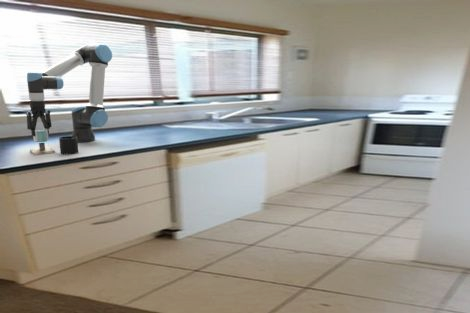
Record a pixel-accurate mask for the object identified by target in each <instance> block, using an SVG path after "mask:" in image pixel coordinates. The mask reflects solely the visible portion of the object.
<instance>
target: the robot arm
mask: <svg viewBox="0 0 470 313" xmlns="http://www.w3.org/2000/svg"><path fill="white" fill-rule="evenodd" d="M112 59H113V51H112V49H111V47H110V46H109V45H107V44H106V43H99V42H98V43H87V44H84V45H82V46H80V47H79V48H77V49H75V50H73V51H72V52H71V54H70V55H69V56H67V57H66V58H64V59H62V60H61V61H59V62H57V63H56V64H54V65H52V66H51V67H49V68H48V69H46V70H44V71H43V72H27V75H26V81H27V89H28V97H29V98H28V99H29V100H30V101H29V107H30V111H25V115H26V126H27V130H28V131H29V130H30V132H31V137H32V138H33V142H35V143H39V142H38V137H37V129H36V128H37V123H38V122H37V121H38V119H39V118H40V120H41V123H42V124H43V125H42V126H43V127H44V128H42V130H46V132H47V141H49V134H50V131H49V130H50V128H52V127H53V126H52V119H51V110H47V109H46V101H45V92H44V91H45V90H62V89H63V87H64V86H65V85H64V80H63V78H62V77H63V76H64V75H66V74H67V73H69V72H71V71H72V70H74V69H75V68H77V67H78V66H83V65H84V64H89V66H90V67H91V68H90V81H89V82H90V83H89V95H88V103H87V104H86V105H85V106H77V107H72V109H71V118H72V119H71V120H72V128H73V129H72V134H71V136H76V137H77V142H78V143H86V142H88V143H89V142H93V141H95V140H96V136H95V133H94V131H93V129H92V128H102V127H104V126H105V125H106V124H107V123H108V120H109V115H108V113H107V111H106V107H105V105H104V90H105V76H106V68H107V67H108V66H109V63H110V62H111V60H112Z"/></svg>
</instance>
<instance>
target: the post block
mask: <svg viewBox="0 0 470 313" xmlns="http://www.w3.org/2000/svg"><path fill="white" fill-rule="evenodd" d="M45 144H46V143H45V142H38V146H39V148H35V149H34V148H33V149H30V153H31V154H32V155H34V156H37V155H44V154H45V155H46V154H55V153H56V150H55V149H53V148H52V147H46V145H45Z"/></svg>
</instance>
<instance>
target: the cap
mask: <svg viewBox="0 0 470 313" xmlns="http://www.w3.org/2000/svg"><path fill="white" fill-rule="evenodd" d="M36 130H37V129H36ZM37 137H38V142H37V143H45V142H48V140H47V132H46V130H43V129H38V130H37Z"/></svg>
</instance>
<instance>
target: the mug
mask: <svg viewBox="0 0 470 313" xmlns="http://www.w3.org/2000/svg"><path fill="white" fill-rule="evenodd" d="M58 140H59V148H60V149H59V151H60V154H61V155H74V154H77V153H79V144H78V143H79V142H77V137H76V136H72V135H67V136H60V137H59V138H58Z"/></svg>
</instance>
